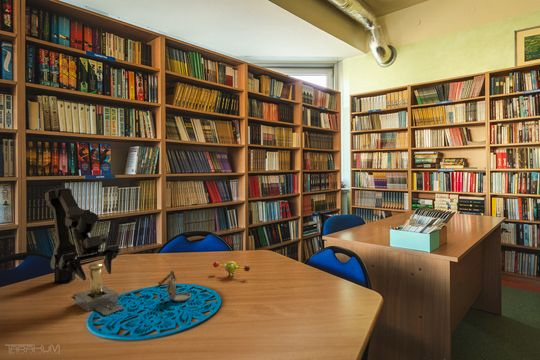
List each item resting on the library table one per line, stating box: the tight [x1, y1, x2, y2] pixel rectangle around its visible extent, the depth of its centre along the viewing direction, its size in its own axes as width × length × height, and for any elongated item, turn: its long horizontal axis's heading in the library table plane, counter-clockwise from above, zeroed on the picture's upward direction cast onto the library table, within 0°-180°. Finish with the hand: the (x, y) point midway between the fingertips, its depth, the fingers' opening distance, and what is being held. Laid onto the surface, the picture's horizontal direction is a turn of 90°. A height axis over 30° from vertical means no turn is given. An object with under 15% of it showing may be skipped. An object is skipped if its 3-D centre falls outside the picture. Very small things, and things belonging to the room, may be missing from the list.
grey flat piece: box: [72, 286, 125, 317], centre depth 110 cm, size 26×10×3 cm, turn 52°
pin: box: [87, 262, 104, 298], centre depth 110 cm, size 4×4×14 cm
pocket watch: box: [166, 272, 192, 302], centre depth 112 cm, size 8×8×10 cm
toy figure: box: [212, 260, 251, 278], centre depth 136 cm, size 18×6×7 cm, turn 68°
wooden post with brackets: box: [157, 270, 177, 287], centre depth 129 cm, size 2×8×4 cm, turn 144°
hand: (97, 276), depth 109 cm, fingers open, 8 cm apart
